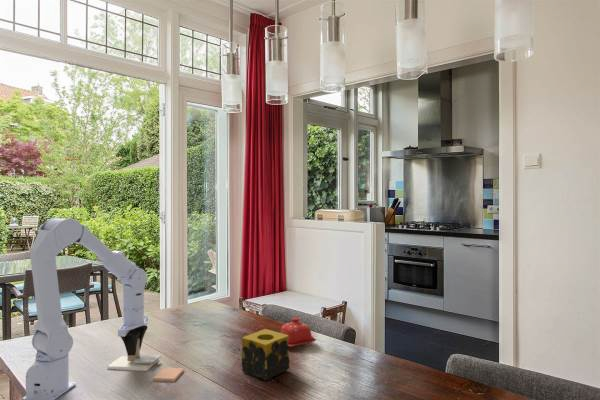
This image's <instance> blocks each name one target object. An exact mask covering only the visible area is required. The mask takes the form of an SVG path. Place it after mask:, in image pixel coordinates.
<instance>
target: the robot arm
mask: <svg viewBox="0 0 600 400" xmlns="http://www.w3.org/2000/svg"><path fill="white" fill-rule="evenodd" d="M72 244H79V245H82V246H83V247H84V248H86V249H87V250H89V251H90V252H91V253H93V254H94V255H96V256H97V258H98V257H99V259H101V260H102V266H103V268H104V269H106V270H107V271H109V272H110V273H111V274H112V275H114V276H115V277H116V278H118V282H119V283H120V284H121V285H122V289H123V291H122V292H123V293H122V298H123V300H122V305H123V306H122V307H123V309H122V315H123V317H122V320H123V322H122V323H121V326H120V327H119V328H118V329H117V337H120V338H121V340H122V342H123V344H124V347H125V350H126V354H127V356H128V355H135V353H136V347H137V340H138V338H140V350H142V349H141V348H142V343H143V340H144V336H145V334H146V332H147V329H148V324H149V323H148V319H149V317H148V315H145V287H146V284H147V282H148V281H149V276H148V275H147V274H146V271H145V270H144V269H143V268H141V267H137V263H136V262H134V261H131V259H129V258H127V257H126V253H125V252H124V251H119V250H111V248H109V247H108V246H107V245H106V244H105V243H104V242H102V241H101V239H99V238H98V237H97V236H96V235H95V234H94V233H93V232H92V231H91V230H90V229H89V228H88V227H87V226H86V225H84V224H82V223H81V222H80V221H79V220H78V219H76V218H73V217H71V218H61V217H51V218H49V219H46V220H45V222H43V223H42V224H41V225H40V226H39V227H38V233H37V235H36V237H35V239H34V241H33V244H32V246H31V248H30V250H29V257H30V265H31V275H32V281H33V282H32V284H33V292H34V298H35V299H34V300H35V308H36V315H37V321H36V323H35V324H34V326H33V328H34V334H33V335H32V337H31V344H32V345H31V346H32V347H33V349H35V350H36V354H35V361H34V363H33V364H32V365H31V366H30V367H29V368H28V369H27V371H26V372H25V373H26V374H25V396H23V397H22V400H56V399H57V398H59V397H61V396H62V395H63V394H64V393H66V392H68V391H69V390H70V389H72V388H74V387H75V386H76V385H77V382H76V381H75V382H74V381H70V380H69V379H70V378H69V376H70V374H69V369H70V368H69V367H70V366H69V364H70V363H69V359H70V358H69V355H70V354H69V353H70V352H71V351H72V348H73V345H74V338H73V336H72V334H70V333H69V328H68V324H67V323H66V321H65V320H64V318H63V314H62V305H61V296H60V287H59V279H58V269H57V262H56V257H57V256H58V255H59V254H60V253H61V252H62V250H64V249H65V248H68V246H70V245H72Z"/></svg>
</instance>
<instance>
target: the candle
mask: <svg viewBox="0 0 600 400" xmlns="http://www.w3.org/2000/svg"><path fill="white" fill-rule="evenodd" d="M288 341H289V336H288V335H285V334H282V333H281V332H278V331H275V330H270V329H269V328H268V329H267V328H263V329H262V330H259V331H256V332H254V333H250V334H248V335H244V336H243V337H241V346H242V347H241V348H242V349H241V354H242V355H241V367H242V368H241V370H242V372H243V373H246V374H249V375H251V376H254V377H257V378H259V379H262V380H264V381H266V380H269V379H271V378H273V377H276V376H278V375H279V374H282V373H283V372H286V371H288V370H289V369H290V365H289V364H290V353H289V349H290V346H288Z"/></svg>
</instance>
